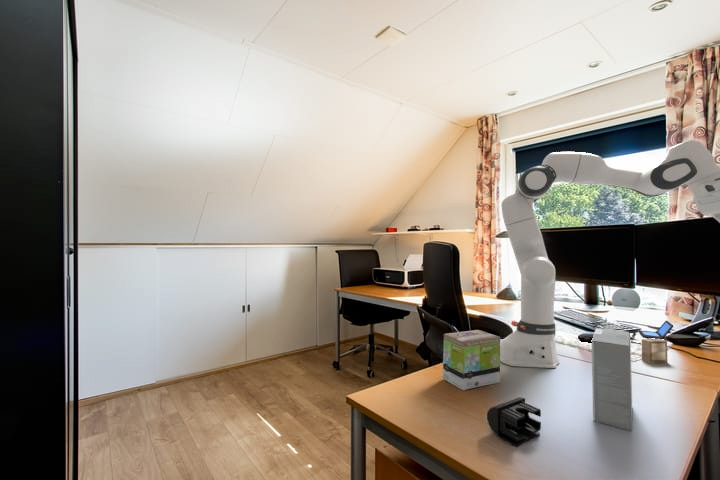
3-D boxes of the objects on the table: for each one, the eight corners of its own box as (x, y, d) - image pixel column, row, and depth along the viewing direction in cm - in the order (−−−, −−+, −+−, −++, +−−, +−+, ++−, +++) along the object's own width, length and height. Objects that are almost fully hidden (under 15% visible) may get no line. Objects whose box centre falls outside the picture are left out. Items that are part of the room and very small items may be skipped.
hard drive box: (596, 398, 92) (596, 327, 93) (632, 406, 87) (631, 331, 88) (592, 421, 80) (591, 339, 81) (632, 432, 75) (631, 345, 76)
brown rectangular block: (649, 363, 120) (649, 341, 120) (642, 360, 123) (641, 339, 123) (667, 363, 120) (667, 341, 121) (659, 360, 124) (659, 338, 124)
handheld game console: (638, 332, 164) (637, 317, 164) (667, 335, 158) (667, 320, 158) (643, 338, 153) (642, 322, 154) (674, 342, 148) (674, 325, 148)
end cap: (513, 420, 81) (513, 393, 81) (542, 435, 74) (541, 405, 75) (486, 432, 76) (486, 402, 76) (514, 448, 69) (514, 416, 70)
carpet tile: (668, 351, 136) (668, 346, 136) (633, 364, 121) (633, 358, 121) (569, 330, 170) (569, 326, 170) (533, 337, 156) (533, 333, 156)
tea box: (464, 392, 96) (464, 341, 97) (442, 379, 105) (442, 333, 106) (501, 383, 103) (501, 335, 103) (477, 371, 112) (477, 328, 112)
